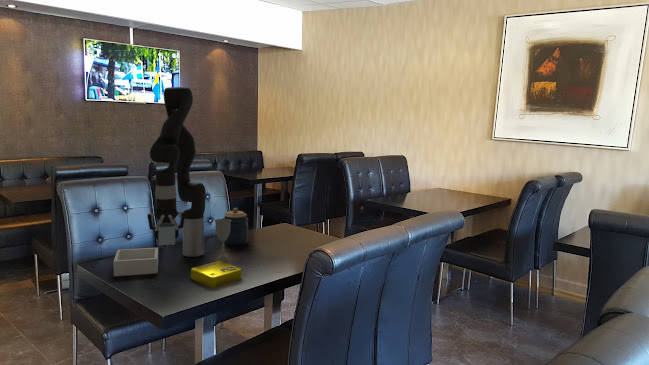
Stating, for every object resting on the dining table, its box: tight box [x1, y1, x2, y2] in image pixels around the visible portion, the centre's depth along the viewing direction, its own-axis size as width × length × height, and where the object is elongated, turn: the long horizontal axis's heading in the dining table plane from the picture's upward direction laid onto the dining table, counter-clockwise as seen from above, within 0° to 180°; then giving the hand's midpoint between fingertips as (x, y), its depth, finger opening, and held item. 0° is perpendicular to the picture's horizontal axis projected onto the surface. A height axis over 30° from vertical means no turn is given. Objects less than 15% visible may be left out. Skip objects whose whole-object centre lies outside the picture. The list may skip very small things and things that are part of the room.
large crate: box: [112, 247, 159, 277], centre depth 192 cm, size 16×16×6 cm
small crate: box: [158, 222, 176, 246], centre depth 181 cm, size 6×8×7 cm
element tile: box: [190, 260, 242, 288], centre depth 184 cm, size 15×15×5 cm
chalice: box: [214, 218, 231, 263], centre depth 205 cm, size 7×7×18 cm
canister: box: [222, 207, 249, 246], centre depth 234 cm, size 13×13×18 cm
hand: (166, 239), depth 181 cm, fingers closed on small crate, 6 cm apart
